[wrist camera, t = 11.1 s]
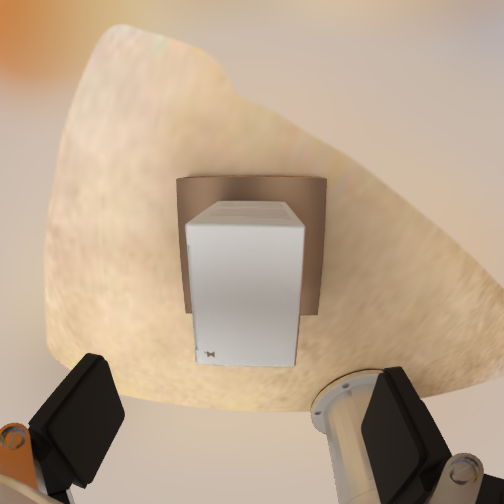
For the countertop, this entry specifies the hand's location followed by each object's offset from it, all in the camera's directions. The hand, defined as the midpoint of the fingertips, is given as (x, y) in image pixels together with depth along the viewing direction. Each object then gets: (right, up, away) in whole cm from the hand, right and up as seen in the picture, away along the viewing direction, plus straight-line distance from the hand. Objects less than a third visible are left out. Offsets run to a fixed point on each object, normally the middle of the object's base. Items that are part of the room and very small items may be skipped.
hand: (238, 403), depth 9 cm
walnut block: (+1, +6, +19) cm, 20 cm away
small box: (0, +5, +15) cm, 16 cm away
